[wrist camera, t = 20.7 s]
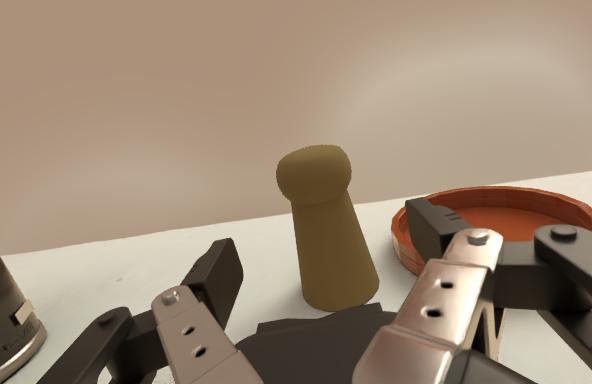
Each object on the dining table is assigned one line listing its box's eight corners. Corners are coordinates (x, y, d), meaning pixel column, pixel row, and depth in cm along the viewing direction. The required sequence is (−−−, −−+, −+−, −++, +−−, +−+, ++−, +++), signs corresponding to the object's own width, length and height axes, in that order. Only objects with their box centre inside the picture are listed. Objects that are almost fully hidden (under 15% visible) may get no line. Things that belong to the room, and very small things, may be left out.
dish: (428, 314, 18) (424, 284, 18) (380, 224, 31) (376, 205, 31) (674, 273, 17) (679, 239, 16) (516, 196, 30) (515, 175, 29)
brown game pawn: (321, 260, 28) (291, 144, 24) (387, 265, 24) (363, 132, 21) (289, 304, 23) (247, 166, 20) (366, 317, 19) (331, 155, 16)
